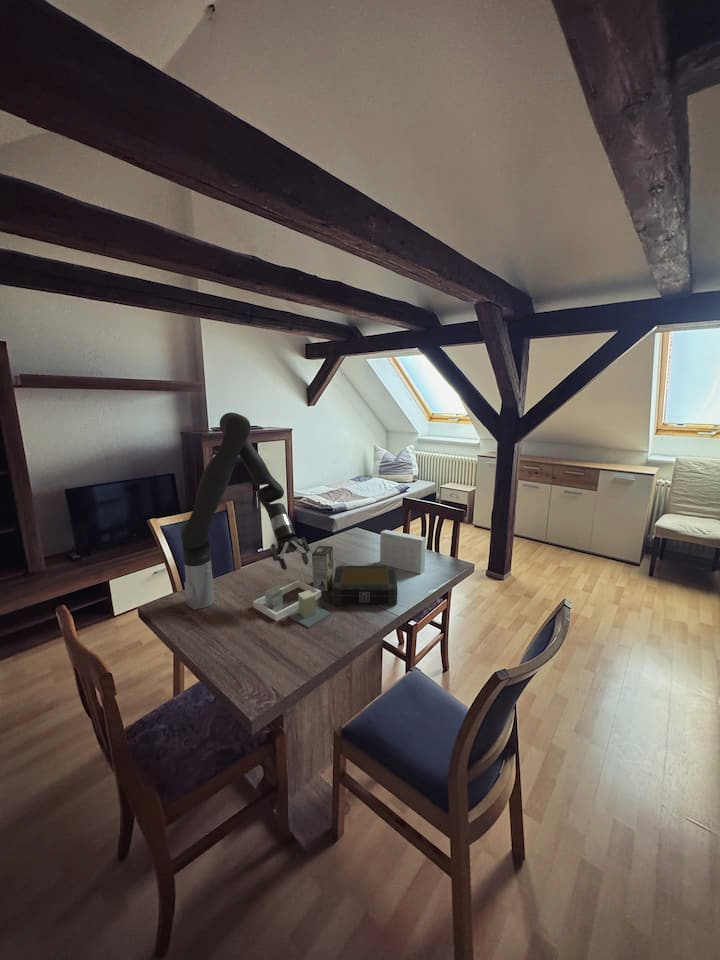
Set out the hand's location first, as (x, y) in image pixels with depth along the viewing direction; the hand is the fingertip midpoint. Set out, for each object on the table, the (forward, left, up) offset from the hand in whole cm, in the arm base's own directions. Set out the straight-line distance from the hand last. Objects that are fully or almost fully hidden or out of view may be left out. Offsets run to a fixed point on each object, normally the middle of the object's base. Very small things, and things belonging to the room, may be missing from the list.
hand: (296, 566), depth 141 cm
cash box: (+24, -14, -16) cm, 32 cm away
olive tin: (-2, -8, -15) cm, 17 cm away
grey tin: (-7, +5, -16) cm, 18 cm away
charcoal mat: (-2, -9, -16) cm, 18 cm away
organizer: (-1, +5, -16) cm, 17 cm away
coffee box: (+17, +4, -16) cm, 24 cm away
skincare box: (+53, -11, -16) cm, 57 cm away
